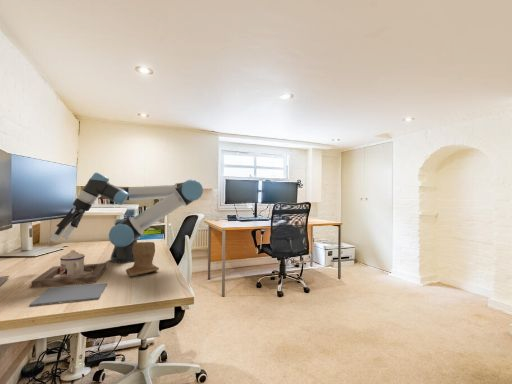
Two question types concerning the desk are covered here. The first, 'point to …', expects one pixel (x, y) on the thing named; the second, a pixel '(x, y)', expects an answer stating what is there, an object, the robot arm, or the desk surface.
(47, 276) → the walnut holder frame
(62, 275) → the teacup with lid
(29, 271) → the desk surface
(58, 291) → the charcoal rubber mat
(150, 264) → the brown upright rounded piece
